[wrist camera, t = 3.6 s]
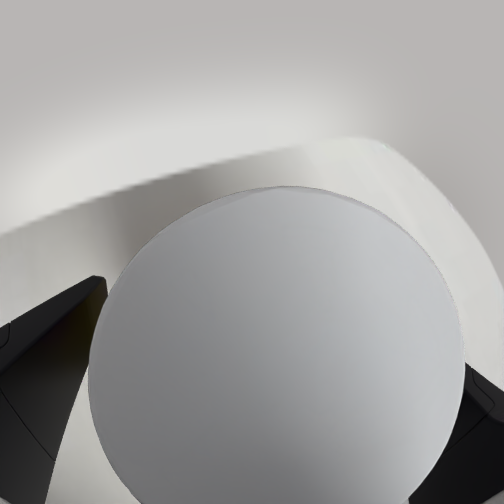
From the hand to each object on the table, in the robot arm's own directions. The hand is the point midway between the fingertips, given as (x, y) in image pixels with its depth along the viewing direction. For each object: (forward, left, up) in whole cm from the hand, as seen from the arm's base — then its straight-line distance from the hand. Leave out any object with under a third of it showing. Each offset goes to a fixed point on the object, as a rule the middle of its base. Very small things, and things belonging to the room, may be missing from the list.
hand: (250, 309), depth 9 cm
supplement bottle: (-1, -1, -7) cm, 7 cm away
